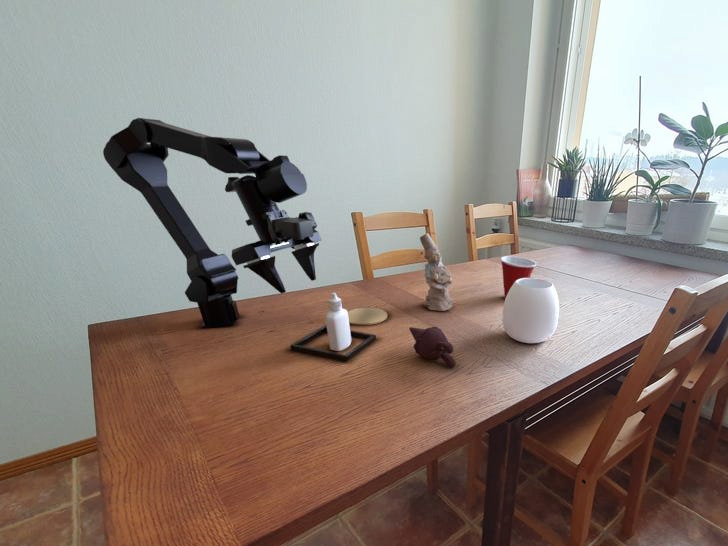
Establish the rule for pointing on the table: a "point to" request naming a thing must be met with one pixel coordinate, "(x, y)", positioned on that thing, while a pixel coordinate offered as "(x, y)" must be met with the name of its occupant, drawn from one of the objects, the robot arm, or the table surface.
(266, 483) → the table surface
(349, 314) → the cork trivet
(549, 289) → the white vase
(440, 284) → the figurine
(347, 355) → the empty black square frame
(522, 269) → the plastic cup
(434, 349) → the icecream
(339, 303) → the eye dropper bottle
